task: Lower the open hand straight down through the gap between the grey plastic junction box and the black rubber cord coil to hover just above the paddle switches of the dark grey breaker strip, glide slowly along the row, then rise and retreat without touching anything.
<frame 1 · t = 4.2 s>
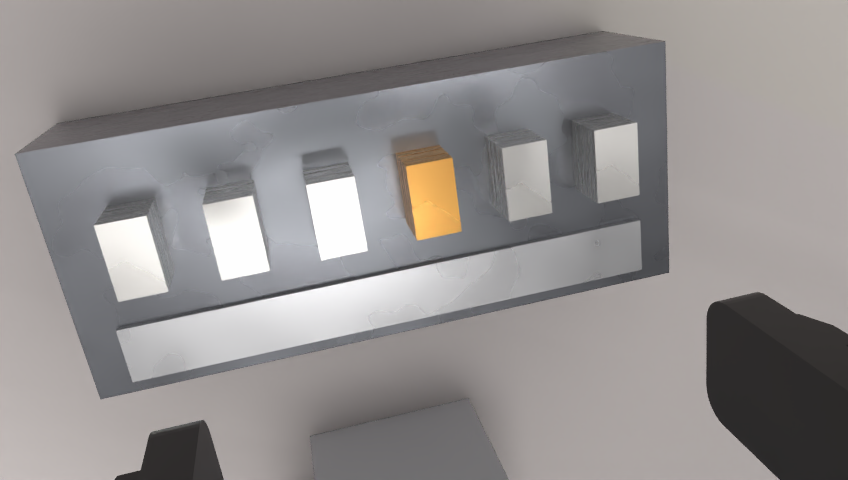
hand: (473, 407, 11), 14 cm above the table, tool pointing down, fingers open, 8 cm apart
breaker strip: (363, 182, 24), on the table
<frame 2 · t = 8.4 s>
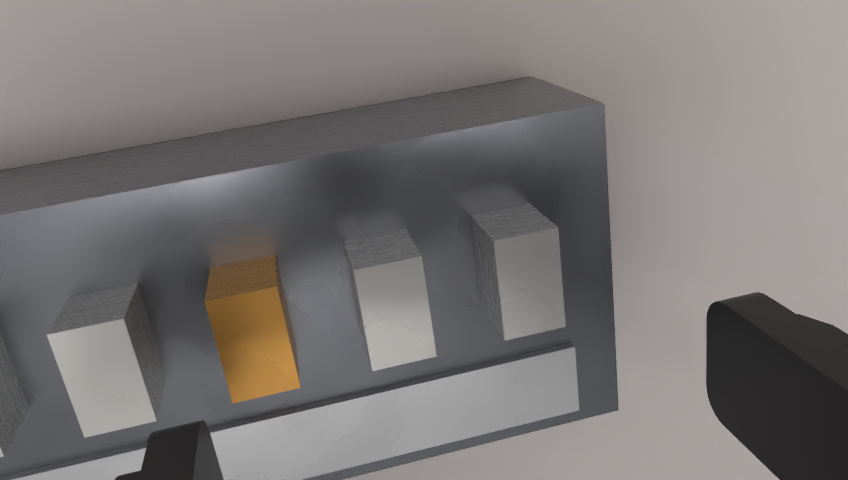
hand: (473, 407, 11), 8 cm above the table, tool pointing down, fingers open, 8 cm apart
breaker strip: (211, 280, 18), on the table
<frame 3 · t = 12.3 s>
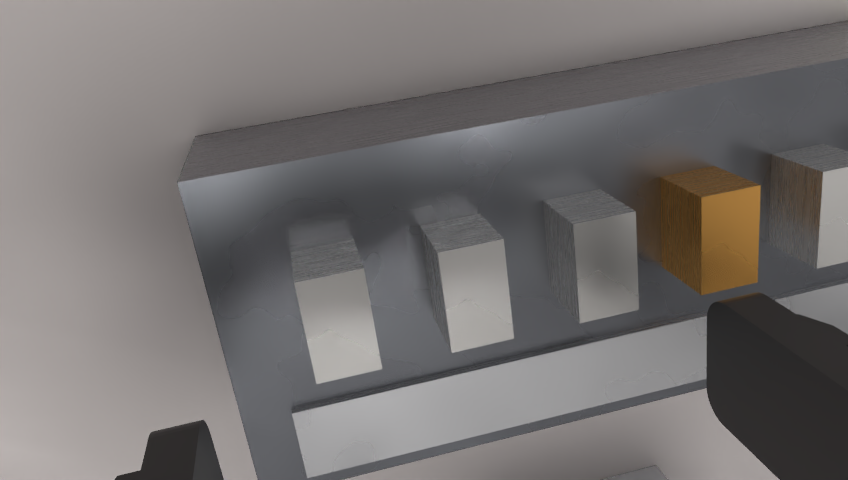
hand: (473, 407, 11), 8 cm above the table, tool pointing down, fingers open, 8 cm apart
breaker strip: (560, 208, 19), on the table
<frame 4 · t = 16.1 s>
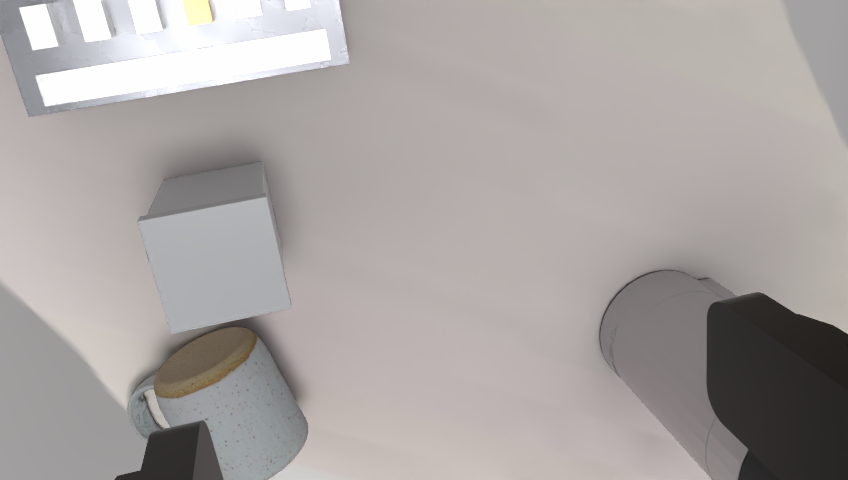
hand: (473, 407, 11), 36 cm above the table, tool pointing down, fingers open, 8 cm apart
junction box: (225, 215, 46), on the table
ceramic mug: (215, 386, 50), on the table
breaker strip: (184, 18, 42), on the table
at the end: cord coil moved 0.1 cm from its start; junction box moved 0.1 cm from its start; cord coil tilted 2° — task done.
